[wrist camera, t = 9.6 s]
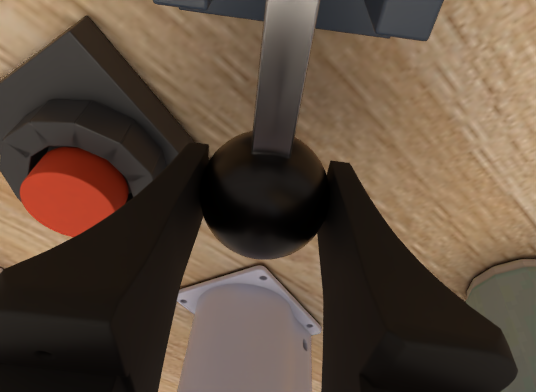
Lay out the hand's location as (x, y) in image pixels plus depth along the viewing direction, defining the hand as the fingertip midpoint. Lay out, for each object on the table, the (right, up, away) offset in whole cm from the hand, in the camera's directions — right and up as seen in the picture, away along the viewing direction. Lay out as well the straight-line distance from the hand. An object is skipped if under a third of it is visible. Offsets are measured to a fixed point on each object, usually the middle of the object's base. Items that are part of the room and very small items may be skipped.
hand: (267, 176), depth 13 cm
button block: (-8, +2, +7) cm, 11 cm away
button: (-8, 0, +5) cm, 10 cm away
